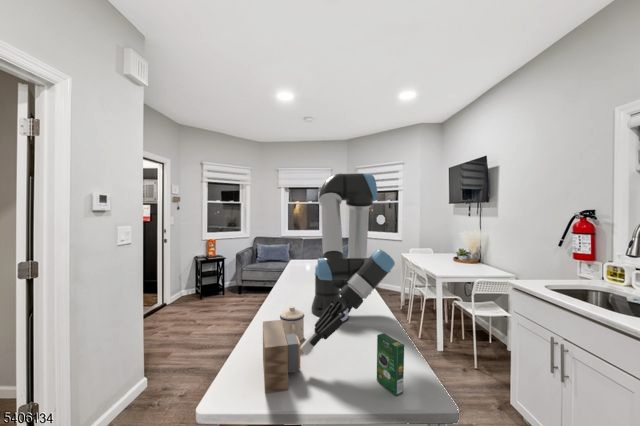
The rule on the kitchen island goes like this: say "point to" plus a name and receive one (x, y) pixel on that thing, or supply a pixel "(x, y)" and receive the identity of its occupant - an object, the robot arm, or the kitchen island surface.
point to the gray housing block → (293, 352)
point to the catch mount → (275, 356)
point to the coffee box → (390, 363)
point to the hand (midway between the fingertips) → (303, 351)
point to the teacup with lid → (293, 322)
